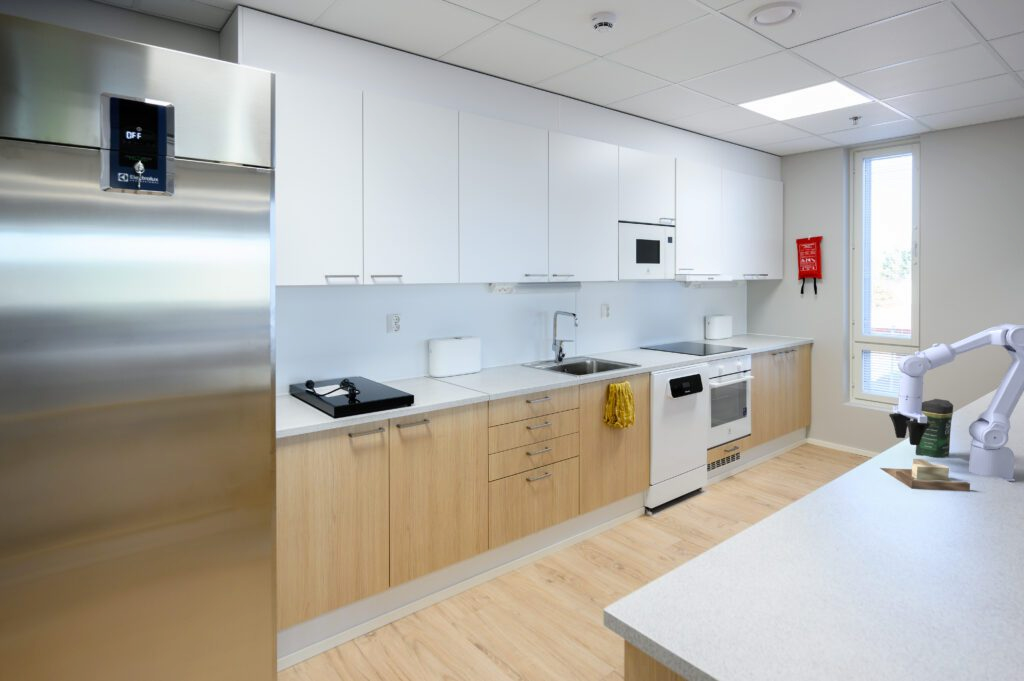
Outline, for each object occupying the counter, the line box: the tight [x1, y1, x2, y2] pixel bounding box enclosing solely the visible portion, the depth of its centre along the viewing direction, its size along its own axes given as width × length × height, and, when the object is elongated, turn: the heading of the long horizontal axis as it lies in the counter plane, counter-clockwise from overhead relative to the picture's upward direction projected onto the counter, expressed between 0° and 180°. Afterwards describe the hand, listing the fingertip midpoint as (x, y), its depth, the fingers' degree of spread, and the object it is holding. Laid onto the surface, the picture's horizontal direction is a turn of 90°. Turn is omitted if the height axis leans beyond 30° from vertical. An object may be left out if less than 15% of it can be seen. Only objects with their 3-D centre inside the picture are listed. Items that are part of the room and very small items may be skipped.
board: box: [879, 467, 971, 492], centre depth 159 cm, size 14×17×3 cm
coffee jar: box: [915, 398, 954, 459], centre depth 182 cm, size 10×8×19 cm
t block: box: [911, 458, 950, 480], centre depth 162 cm, size 8×8×4 cm
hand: (907, 441), depth 171 cm, fingers open, 7 cm apart
